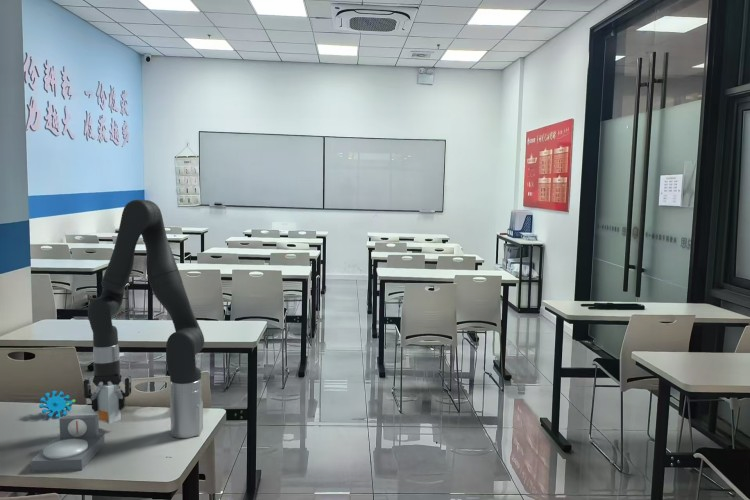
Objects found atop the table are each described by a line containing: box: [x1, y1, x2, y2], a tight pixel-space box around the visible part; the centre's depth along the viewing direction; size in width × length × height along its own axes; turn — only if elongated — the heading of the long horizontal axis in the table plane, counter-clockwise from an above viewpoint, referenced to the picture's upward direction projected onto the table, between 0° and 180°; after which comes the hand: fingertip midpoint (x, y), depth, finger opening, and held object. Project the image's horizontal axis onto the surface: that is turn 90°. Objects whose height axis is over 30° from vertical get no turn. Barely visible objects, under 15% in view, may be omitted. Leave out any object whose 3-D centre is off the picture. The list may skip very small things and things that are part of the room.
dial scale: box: [30, 414, 106, 473], centre depth 162 cm, size 13×17×9 cm
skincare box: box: [97, 383, 122, 425], centre depth 181 cm, size 6×4×12 cm
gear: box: [38, 390, 76, 419], centre depth 195 cm, size 11×6×10 cm
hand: (108, 409), depth 181 cm, fingers closed on skincare box, 7 cm apart
